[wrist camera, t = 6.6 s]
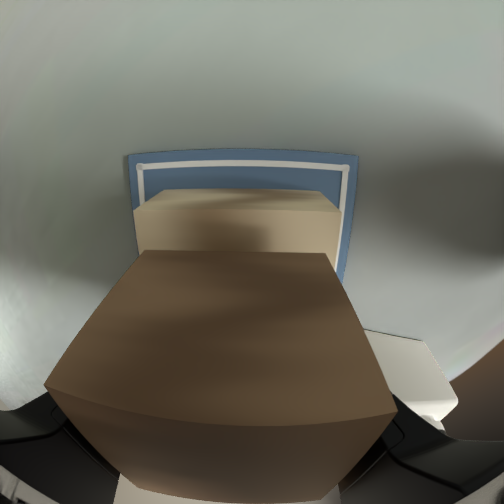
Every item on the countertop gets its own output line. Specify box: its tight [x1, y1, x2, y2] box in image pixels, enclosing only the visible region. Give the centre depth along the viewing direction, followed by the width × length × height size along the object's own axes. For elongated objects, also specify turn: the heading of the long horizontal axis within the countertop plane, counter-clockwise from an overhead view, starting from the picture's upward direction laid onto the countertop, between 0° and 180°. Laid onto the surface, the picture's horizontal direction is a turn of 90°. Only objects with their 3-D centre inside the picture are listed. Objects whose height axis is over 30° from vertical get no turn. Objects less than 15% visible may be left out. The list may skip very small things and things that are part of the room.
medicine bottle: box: [364, 330, 458, 435], centre depth 14 cm, size 7×7×12 cm
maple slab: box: [133, 188, 342, 268], centre depth 13 cm, size 8×8×4 cm
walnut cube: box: [44, 250, 398, 504], centre depth 7 cm, size 6×6×6 cm
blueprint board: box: [128, 149, 359, 284], centre depth 15 cm, size 12×12×1 cm
